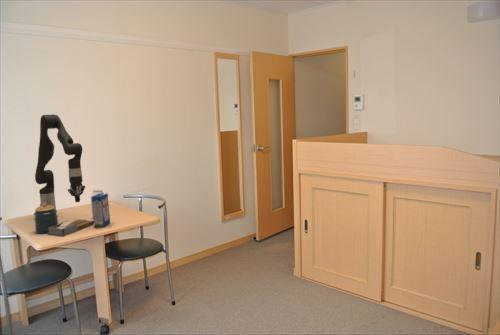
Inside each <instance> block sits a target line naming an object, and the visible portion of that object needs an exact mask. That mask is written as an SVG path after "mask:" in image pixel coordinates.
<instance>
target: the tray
mask: <svg viewBox="0 0 500 335" xmlns="http://www.w3.org/2000/svg"><path fill="white" fill-rule="evenodd" d="M63 223H64V222H61V223H58V224H57V225H54V226H51V227H48V233H47V234H48V235H49V236H57V237H65V236H68V235H70V234H73V233H76V232H78V230H77V224H74V225H72V226H69V227H66V228H63V229H61V228H57V227H60V225H61V224H63Z"/></svg>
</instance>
